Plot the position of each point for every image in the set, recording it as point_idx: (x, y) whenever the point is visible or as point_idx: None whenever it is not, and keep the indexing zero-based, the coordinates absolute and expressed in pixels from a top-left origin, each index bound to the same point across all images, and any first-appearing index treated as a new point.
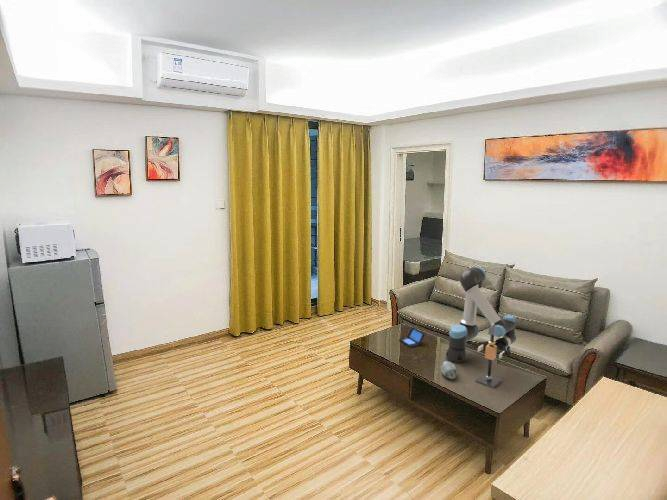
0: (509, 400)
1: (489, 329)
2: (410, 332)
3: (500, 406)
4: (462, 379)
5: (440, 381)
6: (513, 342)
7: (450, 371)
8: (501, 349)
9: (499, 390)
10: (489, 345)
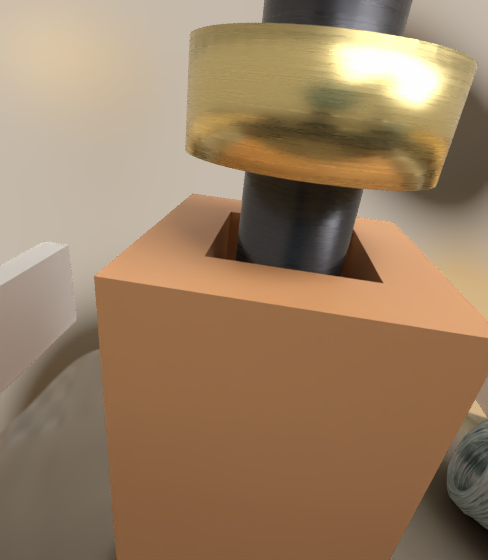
0: (21, 433)
1: None
2: None
3: (94, 361)
4: (414, 548)
5: (465, 430)
6: None
7: (480, 423)
8: None
9: (79, 543)
10: (366, 267)
